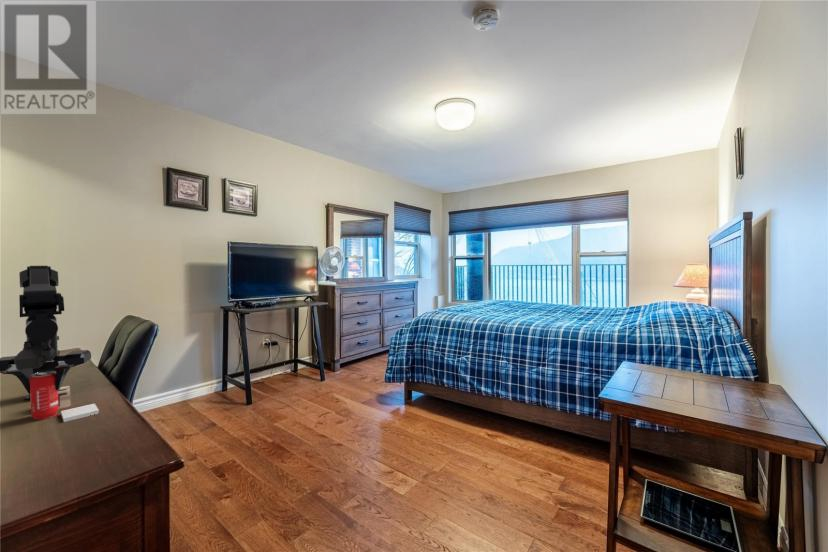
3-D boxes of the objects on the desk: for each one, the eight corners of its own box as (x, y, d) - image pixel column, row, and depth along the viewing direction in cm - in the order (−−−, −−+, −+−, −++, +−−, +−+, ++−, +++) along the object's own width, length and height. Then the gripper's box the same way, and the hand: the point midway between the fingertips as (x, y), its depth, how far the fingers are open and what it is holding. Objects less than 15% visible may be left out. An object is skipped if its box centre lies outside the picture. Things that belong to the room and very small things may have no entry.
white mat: (61, 414, 97) (60, 411, 97) (94, 406, 102) (94, 403, 102) (63, 422, 93) (63, 418, 92) (98, 413, 98) (98, 410, 98)
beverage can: (40, 421, 93) (39, 377, 92) (26, 419, 94) (24, 375, 93) (63, 413, 98) (62, 371, 98) (49, 411, 99) (48, 370, 99)
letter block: (46, 406, 103) (45, 389, 102) (70, 401, 106) (69, 385, 106) (46, 412, 99) (45, 394, 99) (70, 406, 103) (70, 389, 102)
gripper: (-29, 345, 84) (-26, 408, 84) (74, 337, 92) (76, 395, 93) (0, 336, 94) (3, 393, 94) (91, 330, 102) (92, 382, 103)
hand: (44, 391), depth 96 cm, fingers closed on beverage can, 5 cm apart
